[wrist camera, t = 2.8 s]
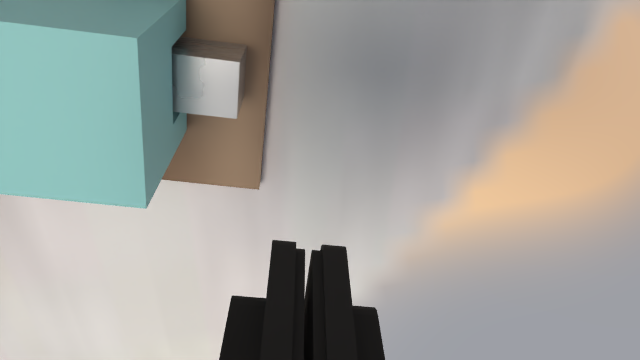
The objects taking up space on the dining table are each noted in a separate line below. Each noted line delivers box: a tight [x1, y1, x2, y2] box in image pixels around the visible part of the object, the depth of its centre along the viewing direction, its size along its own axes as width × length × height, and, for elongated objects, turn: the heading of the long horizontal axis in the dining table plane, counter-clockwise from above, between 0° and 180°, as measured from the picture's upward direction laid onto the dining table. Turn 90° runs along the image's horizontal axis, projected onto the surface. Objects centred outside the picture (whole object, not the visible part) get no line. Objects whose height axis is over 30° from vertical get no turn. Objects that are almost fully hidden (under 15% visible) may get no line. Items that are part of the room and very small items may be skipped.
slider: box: [0, 0, 187, 209], centre depth 19 cm, size 5×6×6 cm
